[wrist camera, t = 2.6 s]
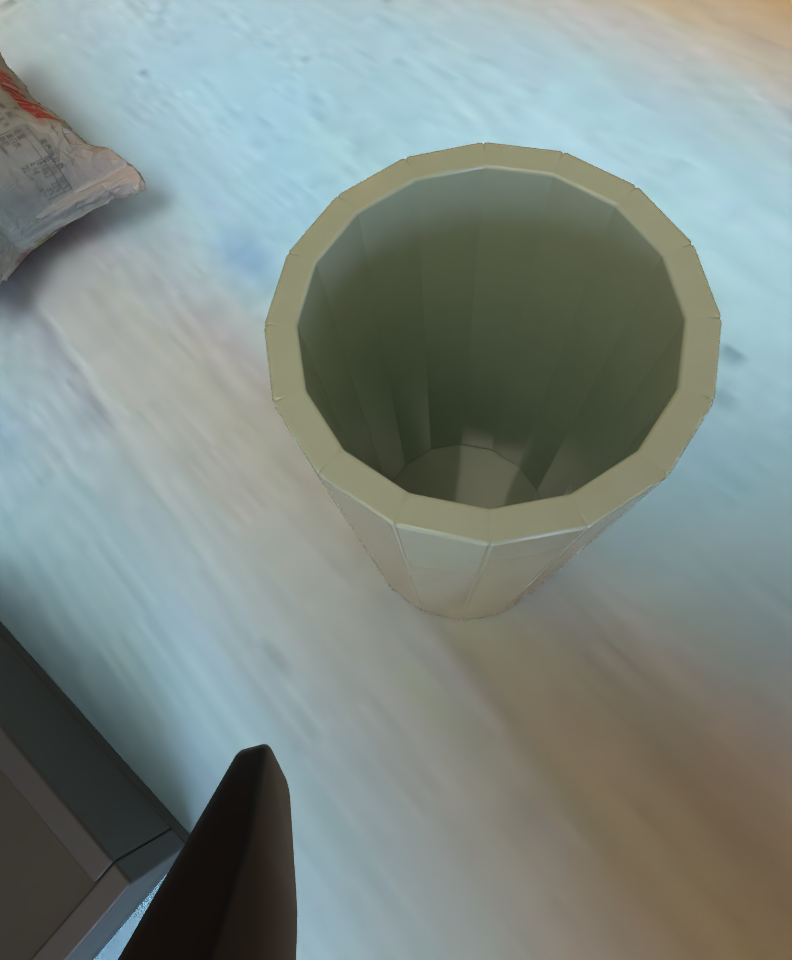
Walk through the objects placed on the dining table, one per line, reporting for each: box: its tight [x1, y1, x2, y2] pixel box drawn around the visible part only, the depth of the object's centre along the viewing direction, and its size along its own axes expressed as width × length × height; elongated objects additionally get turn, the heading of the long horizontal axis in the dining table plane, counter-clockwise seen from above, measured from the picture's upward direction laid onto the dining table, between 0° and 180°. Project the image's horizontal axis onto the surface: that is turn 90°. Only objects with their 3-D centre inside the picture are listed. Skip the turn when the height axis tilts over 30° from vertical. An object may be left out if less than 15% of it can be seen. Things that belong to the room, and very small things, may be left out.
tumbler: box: [264, 143, 721, 620], centre depth 15 cm, size 6×6×13 cm
